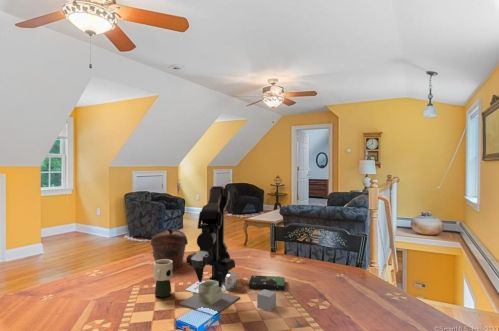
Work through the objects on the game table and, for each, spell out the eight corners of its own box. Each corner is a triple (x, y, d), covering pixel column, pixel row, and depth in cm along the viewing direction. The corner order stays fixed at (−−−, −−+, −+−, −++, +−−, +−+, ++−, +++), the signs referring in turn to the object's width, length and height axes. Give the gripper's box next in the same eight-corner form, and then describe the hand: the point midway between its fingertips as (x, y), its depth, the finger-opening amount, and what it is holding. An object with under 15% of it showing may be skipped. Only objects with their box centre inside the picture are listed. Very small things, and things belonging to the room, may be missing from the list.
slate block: (257, 308, 111) (257, 294, 111) (263, 302, 115) (264, 289, 115) (269, 311, 108) (269, 297, 108) (276, 305, 112) (276, 292, 112)
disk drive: (248, 290, 127) (285, 292, 126) (248, 284, 127) (285, 285, 126) (251, 281, 138) (284, 282, 136) (251, 275, 138) (284, 276, 136)
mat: (178, 304, 113) (178, 303, 113) (206, 289, 127) (206, 288, 127) (214, 315, 105) (214, 313, 105) (239, 298, 119) (239, 296, 119)
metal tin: (222, 289, 127) (222, 274, 127) (229, 285, 131) (229, 271, 131) (232, 292, 124) (232, 277, 124) (239, 287, 129) (239, 273, 129)
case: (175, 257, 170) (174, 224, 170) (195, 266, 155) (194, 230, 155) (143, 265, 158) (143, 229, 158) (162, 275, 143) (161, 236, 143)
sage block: (198, 301, 115) (198, 284, 115) (208, 295, 120) (208, 279, 120) (211, 304, 112) (211, 288, 112) (221, 298, 117) (221, 282, 117)
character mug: (166, 301, 115) (167, 266, 115) (148, 300, 116) (148, 266, 116) (176, 290, 126) (176, 258, 126) (159, 289, 127) (159, 257, 127)
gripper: (176, 243, 113) (176, 286, 113) (217, 251, 104) (217, 297, 104) (196, 237, 123) (196, 277, 123) (235, 243, 114) (235, 286, 114)
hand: (210, 284), depth 116 cm, fingers open, 9 cm apart
